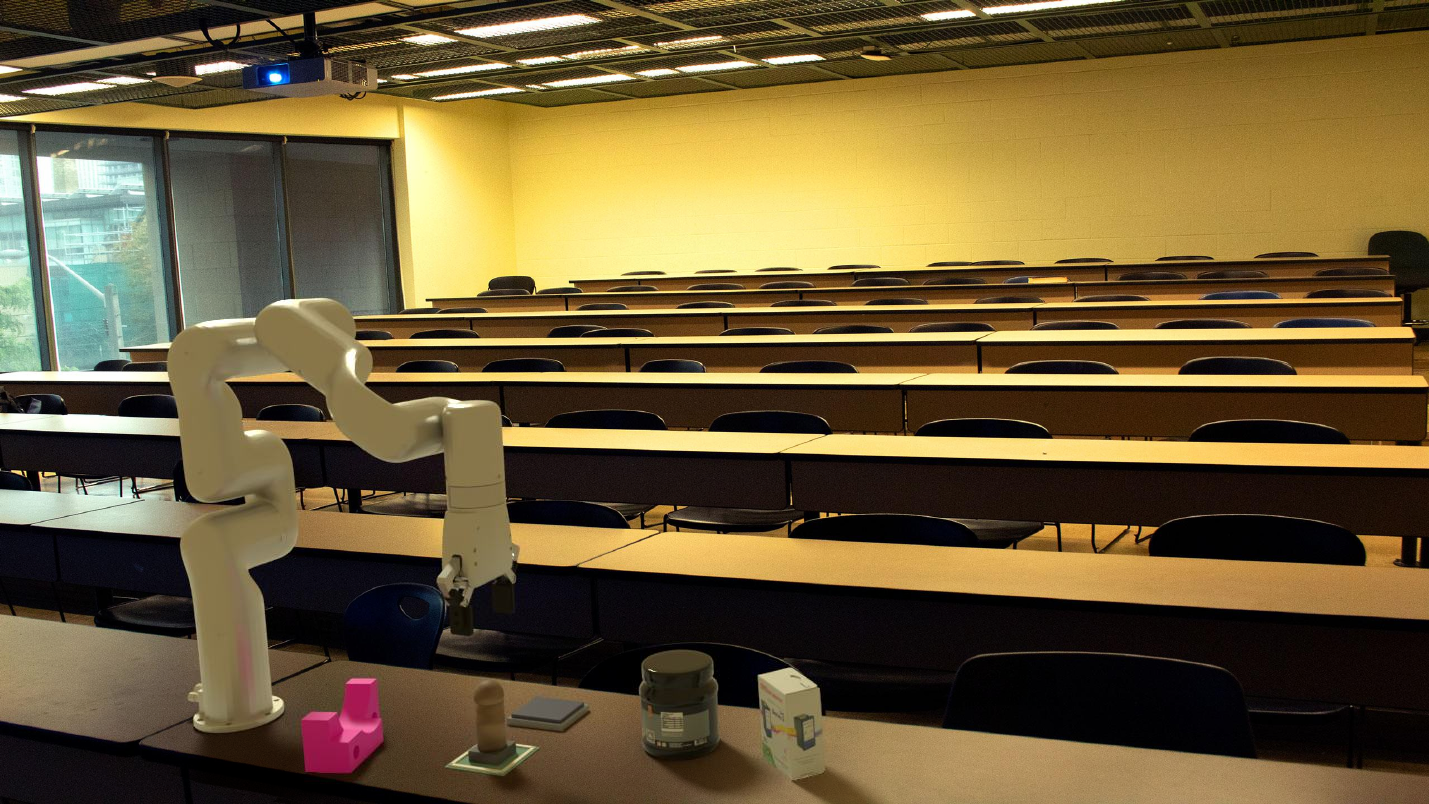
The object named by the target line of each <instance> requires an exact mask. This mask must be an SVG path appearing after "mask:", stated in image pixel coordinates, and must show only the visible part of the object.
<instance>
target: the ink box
mask: <svg viewBox="0 0 1429 804" xmlns="http://www.w3.org/2000/svg"><path fill="white" fill-rule="evenodd" d="M757 682H758V684H757V685H758V698H759V701H758V702H759V710H760V711H759V715H760V726H761V729H760V730H761V740H762V754H763V758H764V757H765V758H764V759H765V760H766V759H767V760H768V761H770V762H771V763H770V762H769V763H770V764H771V765H772V764H773V765H774V766H776V767H777V768H778V769H780V770H781V771H782V772H783V773H784V774H786V775H787V776H789V778H790V779H796V778H801V777H804V776H807V775H808V776H809V775H814V774H819V773H821V772H824V771H825V772H826V761H825V748H824V747H825V746H824V734H823V732H824V731H823V715H822V702H821V691H820V687H818V685H817V684H816V683H814V681H812V680H810V679H809V678H807V676H804V675H803V674H801V673H800V672H799V671H798V670H796V669H795V668H793V667H787V668H782V669H778V670H774V671H770V672H766V673H762V674H758V675H757ZM767 760H766V761H767ZM768 761H767V762H768ZM773 765H772V766H773ZM774 766H773V767H774ZM776 767H775V768H776ZM777 768H776V769H777ZM778 769H777V770H778ZM783 773H782V774H783ZM784 774H783V775H784ZM789 778H788V779H789ZM790 779H789V780H790Z"/></svg>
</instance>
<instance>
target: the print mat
mask: <svg viewBox="0 0 1429 804" xmlns="http://www.w3.org/2000/svg"><path fill="white" fill-rule="evenodd" d="M476 745H477V743H475V745H473V746H472V747H471V748H473V747H474V746H476ZM471 748H469V749H468V750H466V751H465V752H464V753H461V755H459V756H458V757H456V758H455V759H453V760H452V761H450V762H449V763H448V764H446V765H445V766H444V768H445V769H449V770H450V769H451V770H458V771H464V772H472V773H479V774H486V775H493V776H500V777H504V776H506V775H507V774H508V773H510V772H511V771H512V770H514V769H515V768H516V767H518V766H519V765H520V764H522V763H523V762H524V761H525V760H527V759H528V758H529V757H530V756H532V755H533V754H534V753H536V752H537V751H539V750H540V749H541V747H540V746H534V745H526V744H520V743H516V753H514V754H513V755H512V756H510V757H509V758H508V759H507V760H505V761H504V762H503V763H501V764H500V765H499V766H494V765H488V764H481V763H474V762H469V756H468V751H469V750H470V749H471Z"/></svg>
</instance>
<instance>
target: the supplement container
mask: <svg viewBox="0 0 1429 804" xmlns="http://www.w3.org/2000/svg"><path fill="white" fill-rule="evenodd" d="M713 675H714V660H713V658H712V657H711V656H710V655H709V654H707V653H704V652H702V651H697V650H691V649H673V650H666V651H661V652H657V653H653V654H651V655H649V656H647V657H646V658H645V659H644V660H643V661H642V663H641V676H642V677H641V678H642V681H641V683H640V685H639V687H638V692H639V693H638V694H639V697H640V713H641V715H640V716H641V735H642V736H641V745H642V746H643V749H644V750H645V752H647V753H648V754H649V755H650V756H652V757H654V758H657V759H661V760H667V761H686V760H693V759H697V758H700V757H703V756H706V755H708V754H709V753H712V752H713V751H714V750H715V749H717V747H718V746H719V743H720V731H719V730H720V729H719V708H718V707H719V706H718V691H719V684H718V682H717V679H715V678H714V677H713Z"/></svg>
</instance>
